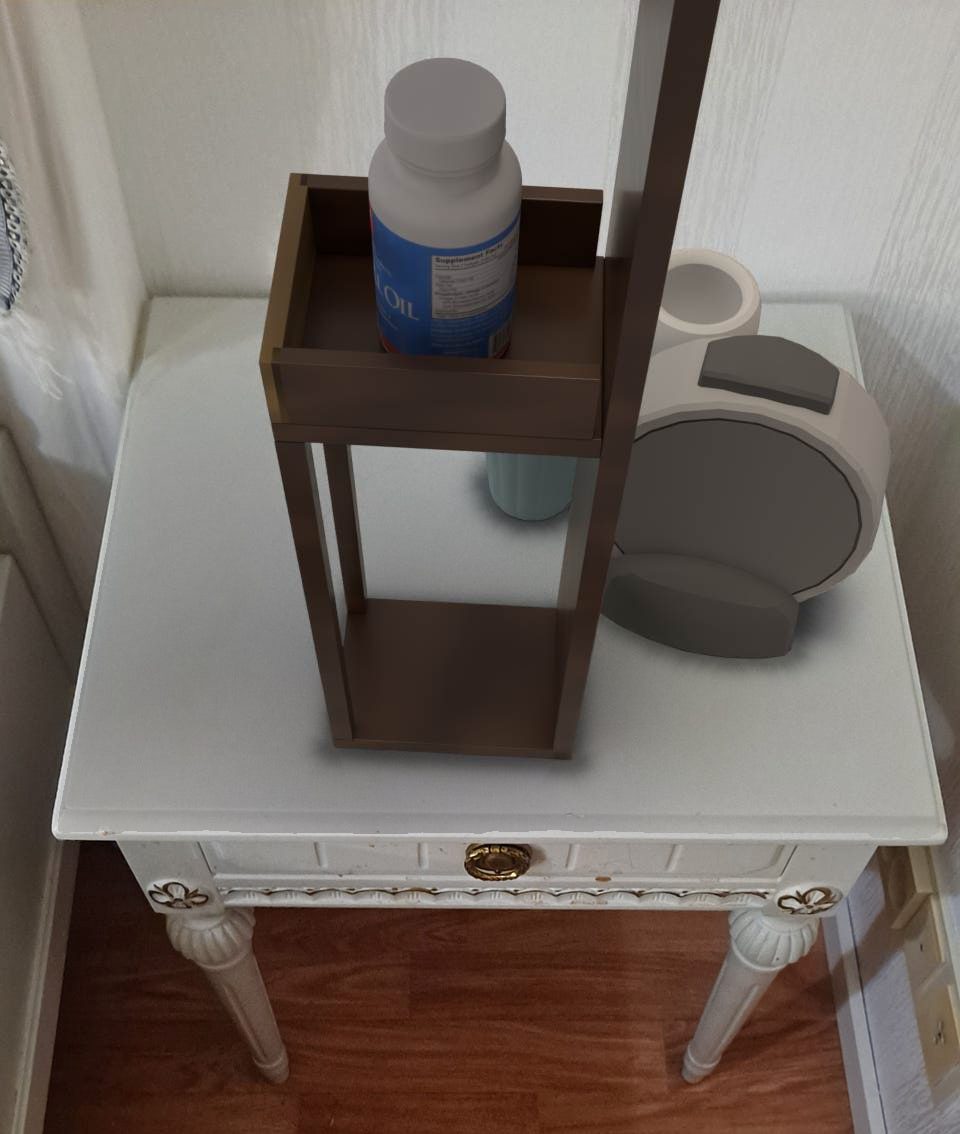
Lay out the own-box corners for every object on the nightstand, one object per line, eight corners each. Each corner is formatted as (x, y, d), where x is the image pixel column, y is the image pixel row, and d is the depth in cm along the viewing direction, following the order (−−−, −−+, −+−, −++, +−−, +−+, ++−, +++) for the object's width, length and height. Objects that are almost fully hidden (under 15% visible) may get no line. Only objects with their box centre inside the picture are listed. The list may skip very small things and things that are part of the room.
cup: (614, 501, 76) (635, 378, 67) (518, 554, 74) (526, 436, 65) (546, 426, 79) (558, 297, 69) (451, 476, 77) (450, 350, 67)
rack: (333, 747, 69) (180, -32, 30) (349, 605, 73) (232, -243, 34) (571, 760, 69) (721, -3, 30) (574, 617, 73) (710, -218, 34)
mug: (611, 338, 82) (627, 240, 75) (731, 336, 82) (758, 238, 75) (627, 473, 77) (646, 382, 70) (754, 471, 78) (785, 380, 70)
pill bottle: (360, 303, 47) (338, 58, 38) (484, 272, 48) (491, 25, 39) (404, 401, 45) (392, 166, 36) (533, 366, 46) (552, 128, 37)
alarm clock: (839, 551, 75) (951, 320, 58) (814, 682, 71) (926, 475, 54) (595, 494, 76) (636, 252, 60) (558, 619, 73) (589, 398, 56)
